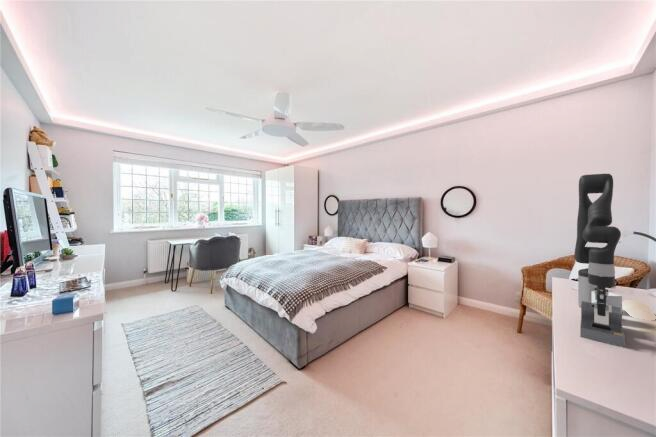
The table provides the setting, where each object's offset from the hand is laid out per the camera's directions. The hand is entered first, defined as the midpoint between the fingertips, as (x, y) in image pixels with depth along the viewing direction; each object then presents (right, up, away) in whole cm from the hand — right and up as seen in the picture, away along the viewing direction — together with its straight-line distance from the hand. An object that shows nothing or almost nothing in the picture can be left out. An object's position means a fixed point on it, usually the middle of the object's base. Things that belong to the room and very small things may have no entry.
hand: (601, 314), depth 103 cm
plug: (0, -4, 0) cm, 4 cm away
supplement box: (+21, -9, +16) cm, 28 cm away
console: (+4, -9, +4) cm, 11 cm away
